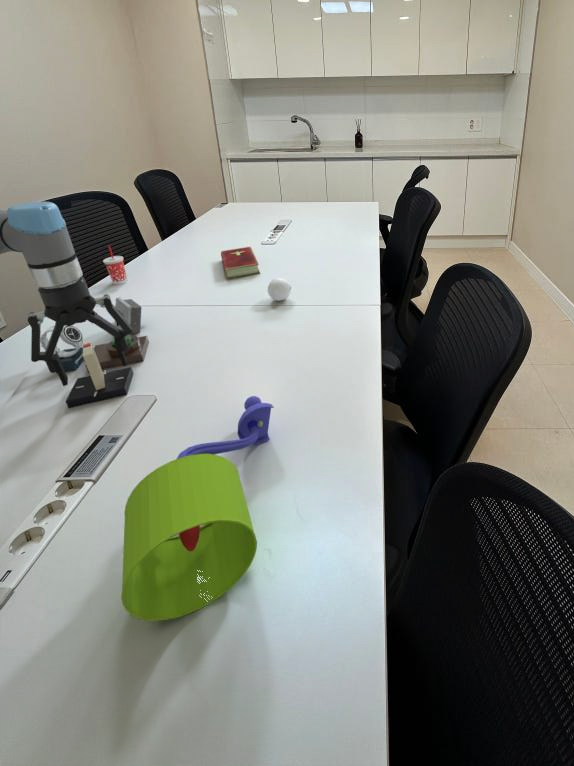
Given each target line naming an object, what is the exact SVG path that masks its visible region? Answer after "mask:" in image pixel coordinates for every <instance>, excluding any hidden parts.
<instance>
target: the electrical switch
mask: <svg viewBox="0 0 574 766" xmlns="http://www.w3.org/2000/svg"><path fill="white" fill-rule="evenodd" d="M114 306H115V308H116V309H117V310H118V311H119V312H120V314H121V315H122V316H123V317H124V318H125V320H126V321H127V322H128V323H129V324H130V326H131V328H132V334H131V335H136V334H139V333H141V325H142V306H141V305H140V304H139V303H137V302H136V301H134V300H133V299H132V298H129V299H123V298H122V297H120V296H119V297H115V304H114ZM114 326H116V327H117V328H119V329H120V330H122V328H121V327H120V326H119V324H118V323H117V322H116V321H115V320H114Z"/></svg>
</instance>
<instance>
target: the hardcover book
mask: <svg viewBox="0 0 574 766" xmlns="http://www.w3.org/2000/svg"><path fill="white" fill-rule="evenodd" d="M220 257H221V261H222V266H223V270H224V274H225V277H226V278H225V279H227V280H232V279H233V280H234V279H237V278H243V277H250V276H253V275H259V274H261V272H260V269H259V262H258V259H257V257H256V255H255V252H254V251H253V248H252V246H245V247H239V248H233V249H227V250H221V251H220Z"/></svg>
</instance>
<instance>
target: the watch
mask: <svg viewBox="0 0 574 766" xmlns="http://www.w3.org/2000/svg"><path fill="white" fill-rule="evenodd" d="M54 326H55V325H52V326H50V327H48V328H47V329H46V330H45V331H44V332H43V333H42V334H41V335H40V347H42V348H43V350H44V351H46V348H47V345H48V342H49V340H50V339H48V337H47V335H48V333H52V332H53V329H54ZM83 338H84V337H83V332H82V331H81V330H80V329H79V328H77V327H76V326H74V325H71V326H67V325H64V327H63V330H62V332H61V334H60V337H59V339H61V340H62V341H63V343H65V344H67V345H70V346H71V347H73V348H66V349H63V350H61V348H59V347H58V346H56V348H55V351H54V353H53V354H56V353H58V356H59V358H60V360H61V363H62V365H63V367H64V370H65V372H66V373H69V372H76V371H77V370H78V369H79V367H80V366H81V365H82V364H83V362H85V360H84V358H83V344H84V339H83ZM55 374H58V373H57V372H55Z"/></svg>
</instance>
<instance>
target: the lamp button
mask: <svg viewBox="0 0 574 766" xmlns="http://www.w3.org/2000/svg"><path fill="white" fill-rule="evenodd" d="M130 335H131V334H130ZM130 335H127V336H126V337H125V340H126V343H127V345H129V344H130V343H131V342H132V339H131V336H130ZM111 341H112V343H113V346H114V347H115V348H117V347H116V345H115V341H114V337H113V338H112V339H111Z"/></svg>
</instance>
